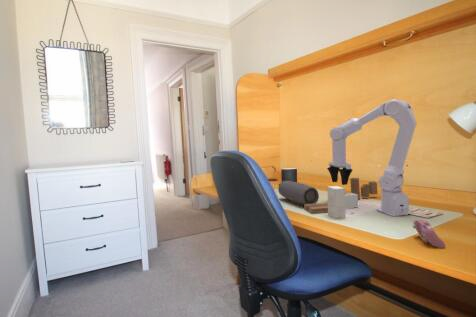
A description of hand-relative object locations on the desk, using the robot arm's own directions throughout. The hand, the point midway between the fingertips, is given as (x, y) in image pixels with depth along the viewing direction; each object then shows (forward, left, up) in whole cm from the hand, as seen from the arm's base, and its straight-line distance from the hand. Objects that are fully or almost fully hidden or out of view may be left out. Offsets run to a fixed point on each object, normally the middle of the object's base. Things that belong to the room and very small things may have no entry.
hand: (339, 183), depth 123 cm
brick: (-6, 0, -10) cm, 12 cm away
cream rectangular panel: (-15, +4, -10) cm, 18 cm away
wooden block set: (+9, -15, -10) cm, 20 cm away
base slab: (-8, +12, -10) cm, 17 cm away
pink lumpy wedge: (-48, 0, -10) cm, 49 cm away
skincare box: (-18, +12, -10) cm, 23 cm away
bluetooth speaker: (+9, +17, -10) cm, 22 cm away
